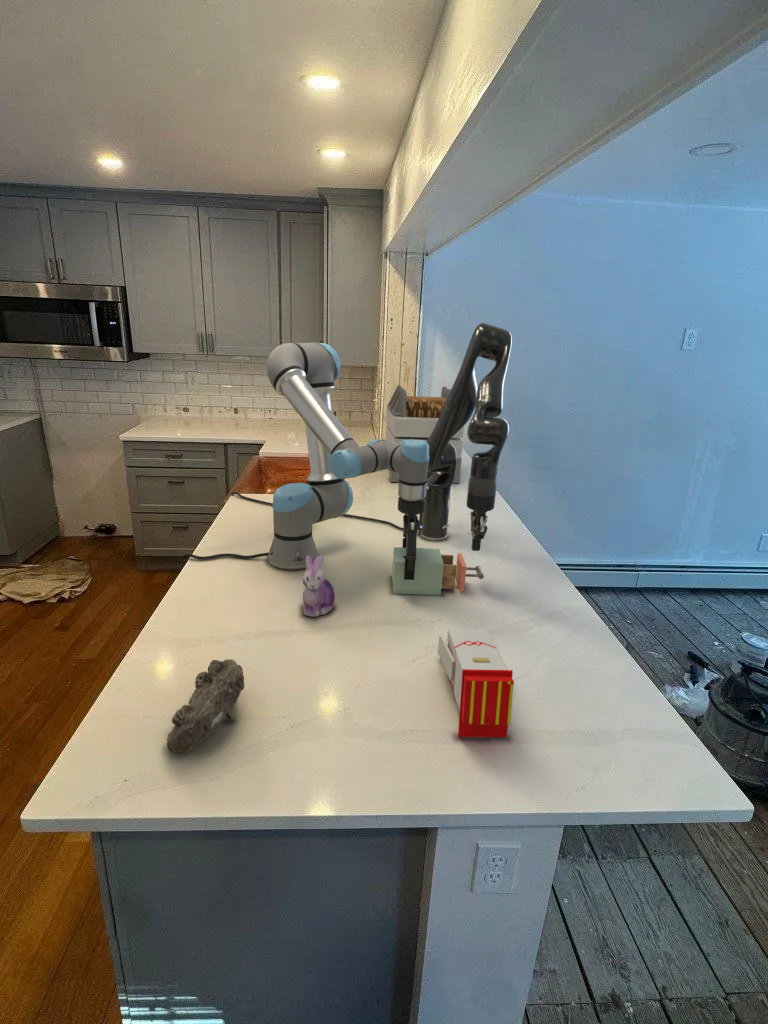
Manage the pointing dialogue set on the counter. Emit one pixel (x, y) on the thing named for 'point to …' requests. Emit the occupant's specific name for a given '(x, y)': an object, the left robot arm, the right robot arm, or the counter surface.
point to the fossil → (206, 705)
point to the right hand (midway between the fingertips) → (475, 549)
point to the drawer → (457, 572)
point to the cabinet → (418, 572)
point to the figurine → (316, 589)
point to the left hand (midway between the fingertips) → (407, 568)
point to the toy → (478, 682)
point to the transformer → (418, 422)
